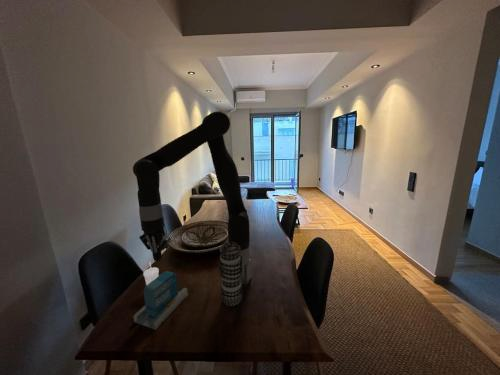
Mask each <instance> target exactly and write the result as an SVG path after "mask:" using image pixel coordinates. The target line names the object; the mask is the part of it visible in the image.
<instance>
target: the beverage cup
mask: <svg viewBox="0 0 500 375" xmlns="http://www.w3.org/2000/svg"><path fill="white" fill-rule="evenodd" d="M148 263H149V268H147V269H146V270H144V271H143V274H142V275H143V277H144V280H145V286H147V285H148V284H149V283H150V282H152V281H153V280H154V279H156V278H157V277H158V276H159V268H158V267H152V264H151V260H149V261H148Z"/></svg>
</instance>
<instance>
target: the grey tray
mask: <svg viewBox="0 0 500 375" xmlns="http://www.w3.org/2000/svg"><path fill="white" fill-rule="evenodd" d="M188 296H189V293H188V288H186V287H183V288H182V289H181V290H180V291H179V290H178V295H177V296H176V297H175V298H174V299H173V300H171V301H170V302H169V303H168V304H167V305H166V307H165V308H164V309H163V310H162V311H161V312H160V313H159V314H158V315H157V316H156V317H154V316H151V315H149V314H147V312H146V305H145V304H144V305H143V306H142V307H141V308H140V309H139V310H138V311H137V312H136V313H135V314H134V315H133V320H134V321H133V322H134V323H136V324H137V325H142V326H143V327H146V328H149V329H152V330H155V331H156V330H157V329H158V328H159V327H160V326H161V325H162V324H163V323H164V322H165V320H166V319H167V318H168V317H169V316H170V315H171V314H172V313H173V312H174V311H175V310H176V308H178V306H180V304H181V303H182V302H183V301H184V300H185V299H186V298H187V297H188ZM162 322H163V323H162ZM161 323H162V324H161Z"/></svg>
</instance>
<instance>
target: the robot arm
mask: <svg viewBox="0 0 500 375" xmlns="http://www.w3.org/2000/svg"><path fill="white" fill-rule="evenodd" d="M230 120H231V119H230V118H229V116H228V115H227V114H226V113H225V112H223V111H213V112H211V113H209V114H207V115H206V116H205V117H204V118H203V119H202V122H201V124H199V125H198V126H196V127H194V129H191V130H190V131H188V132H186V133H184V134H183V135H180V136H178V137H177V138H175V139H173V140H171V141H170V142H168V143H167V144H166V143H165V145H163V146H162V147H160V148H158V149H157V150H156V151H154V152H152V153H150V154H148V155H146V156H144V157H142V158H140V159H138V160H137V161H136V162H134V164H133V166H132V172H133V174H134V176H135V177H136V181H137V189H138V190H137V201H138V212H139V219H140V220H139V221H140V227H141V232H143V234H141V235H139V237H138V238H139V240H140V241H141V242H142V244H143V245H144V246H145V248H146V250H148V251H149V250H150V252H151V253H152V258H153V261H155V262H159V261H161V259H162V258H163V257H162V256H163V254H162V251H164V250H165V249H166V248H167V246H168V245H169V243H170V242H171V240H172V239H171V237H168V236H166V233H165V231H164V228H165V225H166V224H165V218H164V210H163V206H162V198H161V192H160V181H161V180H160V178H161V177H160V171H162V170H164V169H165V168H167V167H168V168H169V167H172V166H173V165H175V164H176V163H178V162H179V161H181V160H183V159H184V158H185V157H187V156H188V155H189V154H191V153H192V152H194V151H195V150H197V149H198V148H199V147H201V146H202V145H204V144H206V143H207V146H208V149H209V152H210V157H211V161H212V164H213V168H214V172H215V177H216V180H217V184H218V186H219V189H220V192H221V193H222V195H223V197H224V200H225V202H226V207H227V211H228V221H227V238H228V242H234V243H236V244H237V245H239V246H240V255H241V256H242V272H241V273H242V276H241V284H242V286H243V285H246V286H247V285H248V284H249V282H250V281H251V279H252V277H253V276H252V273H253V272H252V271H253V270H252V258H251V257H250V256H251V254H250V240H251V239H250V238H251V237H250V235H251V234H250V218H249V215H248V211H247V212H246V210H247V209H246V207H245V204H244V201H243V197H242V187H241V182H240V176H239V173H238V172H239V171H238V167H237V165H236V163H235V162H234V159H233V158H232V156H231V155H230V153H229V151H228V149H227V147H226V143H225V139H224V138H225V137H224V135H226V134H228V133H227V132H229V130H230V127H231V121H230ZM240 262H241V261H240Z"/></svg>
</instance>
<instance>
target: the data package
mask: <svg viewBox="0 0 500 375" xmlns="http://www.w3.org/2000/svg"><path fill="white" fill-rule="evenodd" d="M177 279H178V278H177V274H176V273H175V272H172V271H168V270H165V271H164V272H162V273H161V274H159V275H158V277H157V278H156V279H154V280H153V281H152V282H150V283H149V284H148V285H145V287H144V289H143V292H142V293H143V298H144V306H145V305H146V312H147V314H149V315H151V316H154V317H156V316H157V315H158V314H159V313H160V312H161V311H162V310H163V309H164V308H165V307H166V305H167V304H168V303H169V302H170V301H171V300H173V299H174V298H175V297H176V296H177V295H178V291H179V289H178V280H177Z"/></svg>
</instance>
